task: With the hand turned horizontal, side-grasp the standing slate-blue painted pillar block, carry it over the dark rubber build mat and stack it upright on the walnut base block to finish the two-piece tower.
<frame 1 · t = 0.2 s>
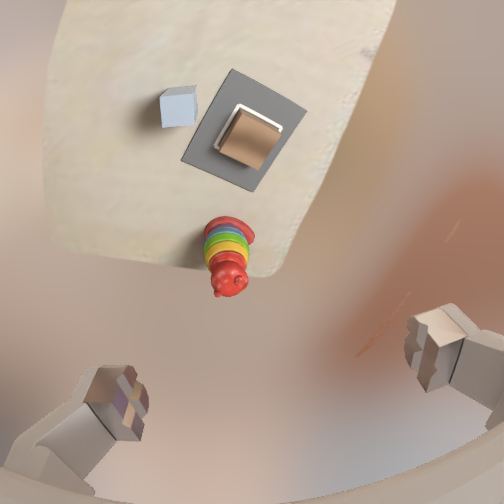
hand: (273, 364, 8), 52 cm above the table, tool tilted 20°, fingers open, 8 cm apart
base block: (248, 136, 54), resting on build mat
stacking bear: (225, 233, 68), on the table
pillar: (183, 99, 48), on the table
build mat: (243, 133, 54), on the table
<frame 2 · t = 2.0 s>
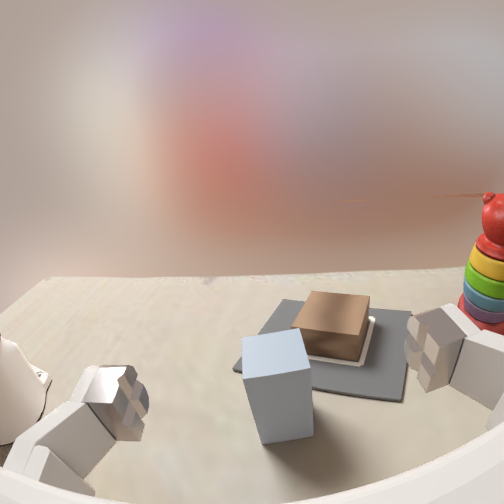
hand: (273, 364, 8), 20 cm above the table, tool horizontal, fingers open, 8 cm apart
base block: (333, 335, 37), resting on build mat
stacking bear: (485, 319, 32), on the table
pillar: (285, 421, 27), on the table
build mat: (331, 343, 37), on the table
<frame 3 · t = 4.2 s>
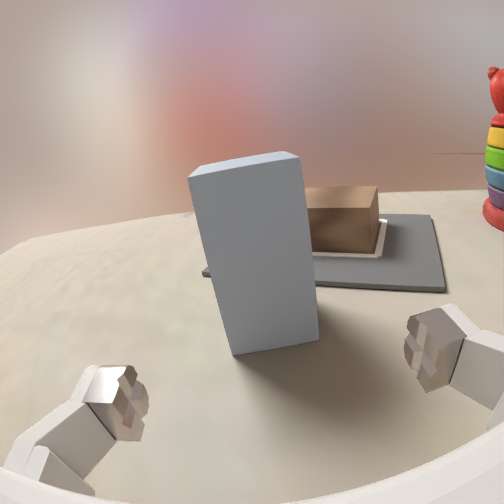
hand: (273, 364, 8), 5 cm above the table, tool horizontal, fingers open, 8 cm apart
base block: (336, 235, 29), resting on build mat
pillar: (271, 323, 19), on the table
build mat: (334, 242, 29), on the table
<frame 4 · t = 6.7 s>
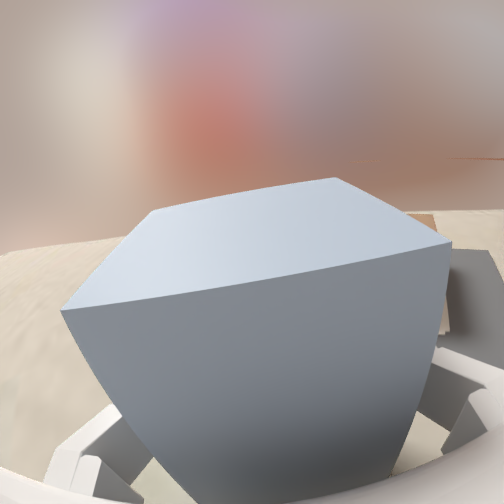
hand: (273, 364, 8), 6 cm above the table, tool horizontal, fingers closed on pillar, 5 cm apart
pillar: (293, 472, 9), on the table, touching gripper
build mat: (376, 299, 19), on the table
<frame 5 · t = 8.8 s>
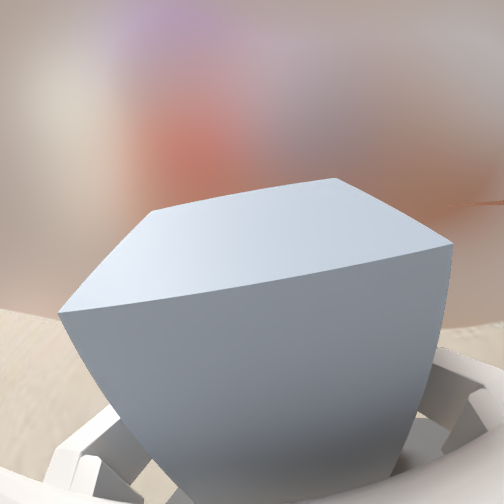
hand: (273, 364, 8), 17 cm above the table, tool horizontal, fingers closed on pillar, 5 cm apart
pillar: (293, 473, 9), point 12 cm above the table, touching gripper
build mat: (319, 490, 17), on the table
when the fingers open (11 cm above the table, at t = 11.0 s): pillar drops 1 cm, resting on base block.
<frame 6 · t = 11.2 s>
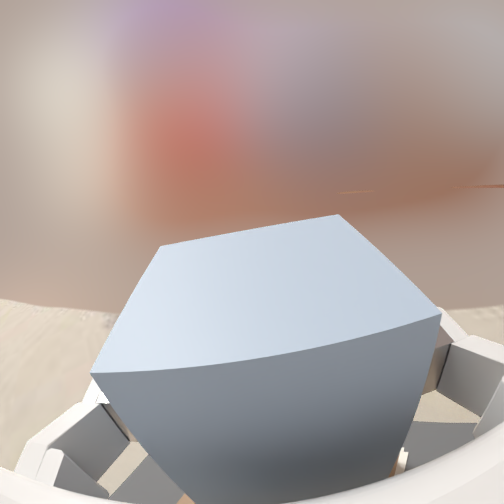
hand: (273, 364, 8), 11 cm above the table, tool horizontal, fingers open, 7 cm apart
pillar: (294, 482, 10), point 4 cm above the table, touching base block
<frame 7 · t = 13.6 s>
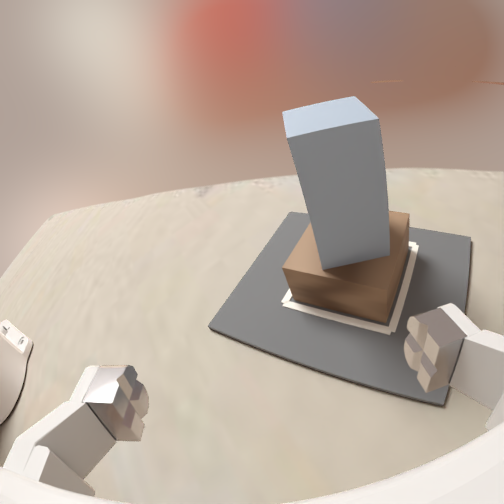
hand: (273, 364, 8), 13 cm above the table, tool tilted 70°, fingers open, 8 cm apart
base block: (354, 273, 25), resting on build mat, touching pillar
pillar: (350, 239, 22), point 4 cm above the table, touching base block
build mat: (351, 285, 25), on the table
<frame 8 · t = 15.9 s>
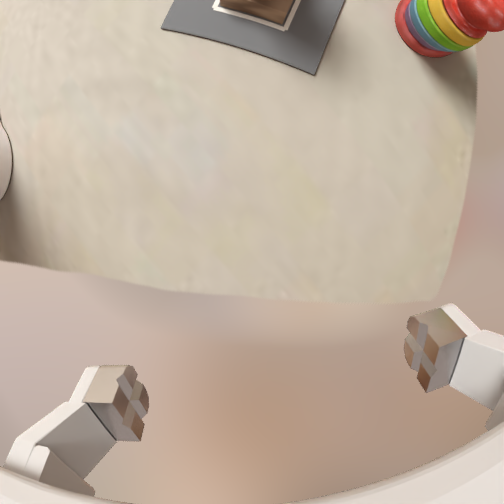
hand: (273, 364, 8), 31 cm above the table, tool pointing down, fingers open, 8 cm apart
stacking bear: (421, 28, 29), on the table
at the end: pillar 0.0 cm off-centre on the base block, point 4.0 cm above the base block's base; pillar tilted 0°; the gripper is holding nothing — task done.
